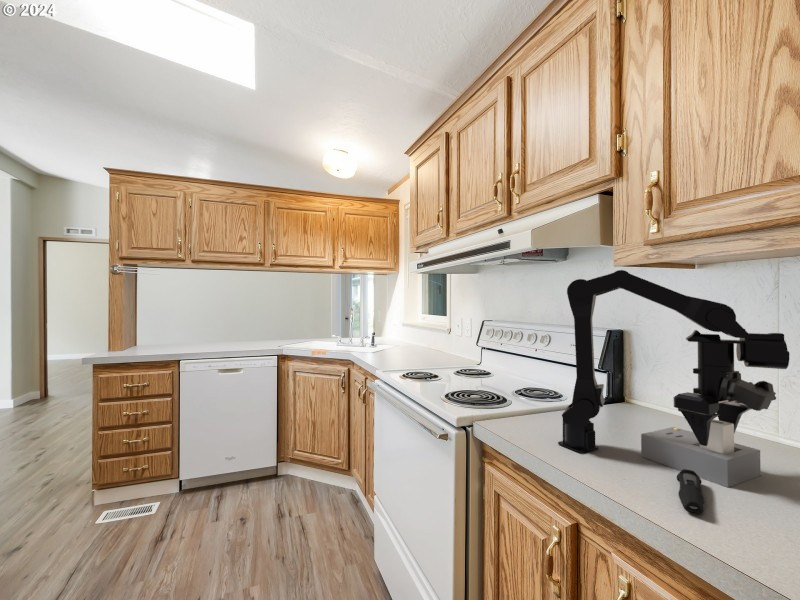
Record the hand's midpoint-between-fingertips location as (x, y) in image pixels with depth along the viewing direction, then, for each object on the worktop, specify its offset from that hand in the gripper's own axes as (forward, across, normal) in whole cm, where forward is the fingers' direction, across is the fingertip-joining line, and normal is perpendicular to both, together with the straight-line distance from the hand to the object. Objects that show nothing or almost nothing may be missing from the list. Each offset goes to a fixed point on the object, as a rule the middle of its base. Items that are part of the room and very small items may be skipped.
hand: (716, 442), depth 77 cm
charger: (+4, 0, 0) cm, 4 cm away
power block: (+6, 0, +4) cm, 7 cm away
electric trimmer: (+6, -16, -4) cm, 18 cm away
